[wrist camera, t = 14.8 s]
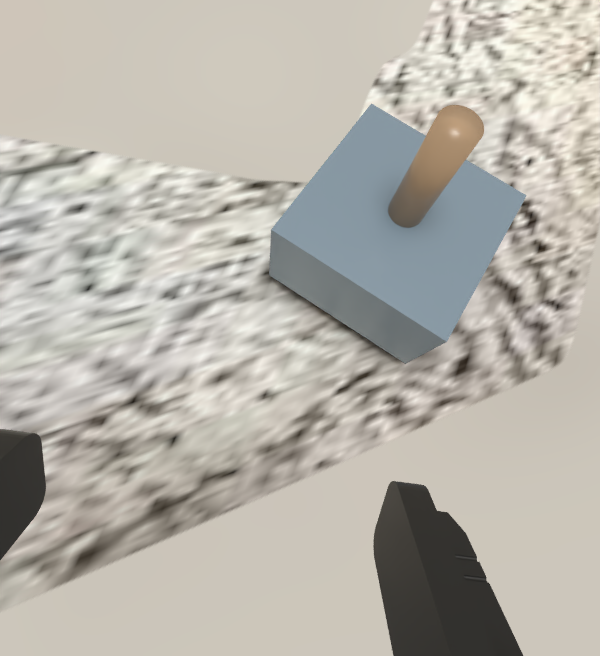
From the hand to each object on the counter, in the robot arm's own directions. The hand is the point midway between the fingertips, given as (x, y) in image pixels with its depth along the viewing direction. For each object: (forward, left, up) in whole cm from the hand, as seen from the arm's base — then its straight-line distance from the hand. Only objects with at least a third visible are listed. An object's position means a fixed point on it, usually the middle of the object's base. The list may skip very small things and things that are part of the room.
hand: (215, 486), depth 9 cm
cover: (0, +17, -24) cm, 29 cm away
